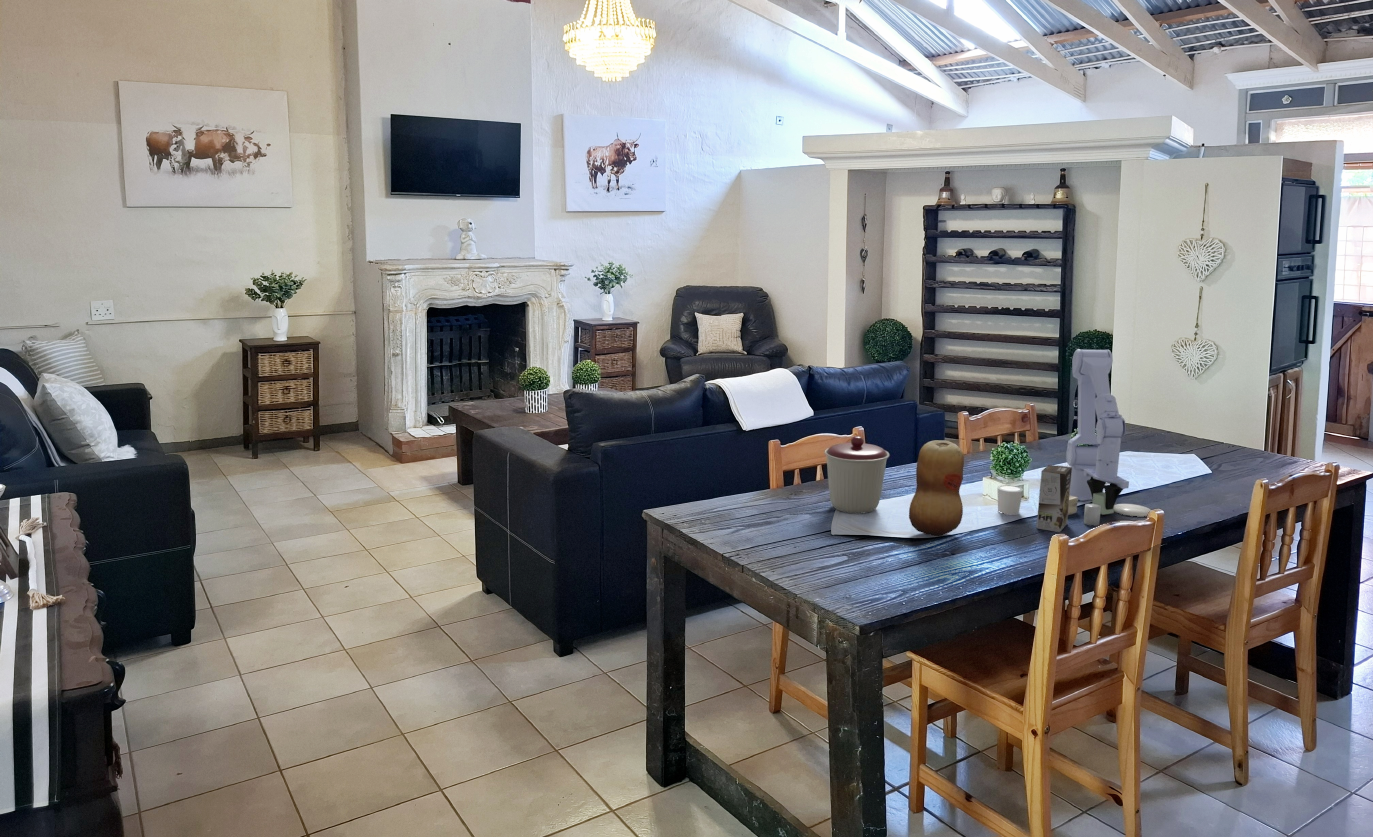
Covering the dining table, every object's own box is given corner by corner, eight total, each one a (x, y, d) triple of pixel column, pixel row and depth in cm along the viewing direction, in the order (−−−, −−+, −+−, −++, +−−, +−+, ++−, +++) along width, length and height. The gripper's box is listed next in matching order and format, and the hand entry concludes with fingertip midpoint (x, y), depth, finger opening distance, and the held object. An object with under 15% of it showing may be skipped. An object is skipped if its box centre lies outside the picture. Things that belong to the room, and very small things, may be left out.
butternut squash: (928, 545, 258) (934, 450, 253) (898, 530, 270) (902, 438, 265) (972, 539, 264) (979, 445, 258) (940, 524, 276) (946, 434, 270)
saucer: (1104, 508, 291) (1105, 506, 291) (1131, 504, 295) (1131, 502, 295) (1132, 518, 282) (1132, 515, 282) (1159, 514, 286) (1159, 511, 286)
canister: (898, 508, 290) (902, 436, 285) (863, 522, 277) (866, 447, 272) (845, 496, 302) (848, 426, 297) (809, 508, 289) (812, 436, 284)
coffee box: (1060, 532, 269) (1065, 474, 266) (1035, 528, 273) (1040, 470, 269) (1068, 524, 277) (1073, 466, 273) (1043, 520, 280) (1048, 463, 277)
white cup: (1008, 516, 283) (1010, 492, 281) (990, 510, 289) (992, 486, 287) (1026, 513, 286) (1028, 489, 285) (1008, 507, 292) (1010, 483, 290)
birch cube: (1053, 511, 288) (1054, 496, 287) (1062, 509, 291) (1063, 493, 290) (1067, 515, 285) (1068, 500, 284) (1076, 512, 287) (1077, 497, 287)
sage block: (1091, 510, 286) (1093, 493, 285) (1102, 509, 288) (1104, 492, 287) (1102, 514, 283) (1104, 497, 282) (1113, 512, 284) (1115, 495, 283)
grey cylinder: (1080, 522, 279) (1081, 504, 278) (1091, 520, 280) (1093, 503, 279) (1091, 526, 275) (1092, 508, 274) (1102, 524, 277) (1104, 507, 276)
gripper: (1077, 455, 287) (1073, 501, 290) (1117, 467, 274) (1112, 515, 277) (1096, 453, 290) (1091, 498, 293) (1136, 465, 277) (1131, 512, 280)
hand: (1103, 506), depth 285 cm, fingers closed on sage block, 4 cm apart
